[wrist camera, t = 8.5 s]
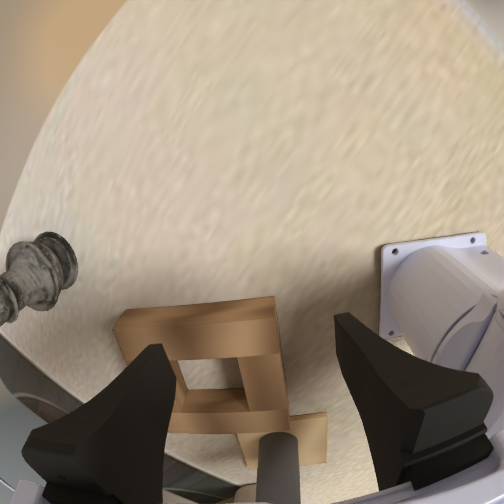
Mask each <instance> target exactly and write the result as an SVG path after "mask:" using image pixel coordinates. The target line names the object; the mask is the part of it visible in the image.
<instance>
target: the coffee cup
mask: <svg viewBox="0 0 504 504" xmlns="http://www.w3.org/2000/svg"><path fill="white" fill-rule="evenodd" d="M255 500H256V484H252V485H247V486H243V487H241V488H240V489H238V490H237V491H236V493H235V498H234V503H245V502H255Z"/></svg>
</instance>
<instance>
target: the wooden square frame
mask: <svg viewBox="0 0 504 504" xmlns="http://www.w3.org/2000/svg"><path fill="white" fill-rule="evenodd" d="M112 330H113V332H114V335H115V337H116V340H117V342H118V345H119V347H120V349H121V352H122V354H123V356H124V359H125V361H126V363H127V365H129V364H130V363H131V362H132V361H133V360H134V359H135V358H136V357H137V356H138V355H139V354H140V353H141V352H142V351H143V350H144V349H145V348H146V347H147V346H148V345H149V344H158V343H162V345H163V347H164V350H165V352H166V354H167V357H168V359H169V362H170V364H171V366H172V369H173V371H174V373H175V375H176V378H177V381H176V394H175V401H174V406H173V410H172V414H171V419H170V423H169V427H168V433H192V434H238V433H261V432H276V431H288V430H290V422H289V403H288V396H287V388H286V380H285V373H284V365H283V357H282V350H281V343H280V335H279V328H278V321H277V313H276V306H275V299H274V296H271V297H262V298H253V299H244V300H234V301H224V302H214V303H204V304H192V305H181V306H169V307H156V308H142V309H128V310H126V311H125V313H124V314H123V315H122V317H121V318H120V319H119V321H118V322H117V323H116V325H115V326H114V327H113V329H112ZM232 357H237V359H238V364H239V368H240V372H241V376H242V381H243V385H244V388H236V389H213V390H188V389H187V386H186V384H185V381H184V378H183V376H182V373H181V370H180V367H179V365H178V362H177V360H196V359H216V358H232Z"/></svg>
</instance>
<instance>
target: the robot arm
mask: <svg viewBox="0 0 504 504" xmlns="http://www.w3.org/2000/svg"><path fill="white" fill-rule="evenodd" d="M471 238H473V240H472V241H471V242H470V240H471ZM395 248H397V251H396V252H395V253H392V250H393V249H395ZM334 321H335V338H336V354H337V358H338V361H339V365H340V368H341V372H342V375H343V377H344V379H345V382H346V384H347V386H348V389H349V391H350V393H351V395H352V398H353V400H354V402H355V405H356V407H357V409H358V412H359V414H360V417H361V420H362V422H363V426H364V429H365V433H366V436H367V440H368V444H369V448H370V452H371V456H372V460H373V464H374V468H375V473H376V477H377V482H378V488H379V492H376V493H372V494H369V495H365V496H361V497H357V498H353V499H349V500H345V501H341V502H336V503H332V504H504V257H503V256H501V255H500V254H498V253H497V252H495V251H493V250H492V249H490V248H489V247H487V246H486V234H485V233H483V232H475V233H468V234H460V235H453V236H446V237H438V238H431V239H424V240H416V241H409V242H401V243H394V244H387V245H384V246H383V247H382V249H381V298H380V323H379V335H377V334H376V333H374V332H373V331H372V330H370V329H369V328H368V327H366V326H365V325H364V324H363V323H361V322H360V321H359V320H358V319H357V318H355V317H354V316H353V315H352V314H350V313H349V312H347V313H343V314H338V315H334ZM390 331H393V332H392V333H389V332H390ZM399 336H404V338H405V340H406V342H407V343H408V345H409V347H410V349H411V350H412V352H413V354H414V356H413V355H411V354H409V353H407V352H405V351H403V350H401V349H399V348H397V347H396V346H394V345H392V344H391V343H389V342H387V341H386V340H384V339H388V338H394V337H399ZM176 381H177V378H176V375H175V373H174V371H173V369H172V366H171V364H170V362H169V359H168V357H167V354H166V352H165V350H164V347H163V345H162V343H158V344H149V345H148V346H147V347H146V348H145V349H144V350H143V351H142V352H141V353H140V354H139V355H138V356H137V357H136V358H135V359H134V360H133V361H132V362H131V363H130V364H129V365H128V366H127V367H126V368H125V369H124V371H123V372H122V373H121V374H120V375H118V376H117V377H116V378H115V379H114V380H113V381H112V382H111V383H110V384H109V385H108V386H107V387H106V388H105V389H103V390H102V391H101V392H100V393H99V394H97V395H96V396H95V397H93V398H92V399H91V400H90V401H88V402H87V403H85V404H84V405H82V406H81V407H79V408H77V409H76V410H74V411H73V412H71V413H69V414H67V415H66V416H64V417H62V418H60V419H58V420H56V421H54V422H51V423H49V424H46V425H44V426H42V427H39V428H36V429H33V430H32V431H31V433H30V435H29V437H28V439H27V441H26V443H25V445H24V447H23V449H22V451H21V452H22V456H23V457H24V459H25V461H26V462H27V463H28V464H29V465H30V466H31V467H32V468H33V469H34V470H35V471H36V472H37V473H38V474H39V475H40V476H41V477H42V478H43V479H44V480H45V481H46V482H47V484H46V486H45V488H44V487H43V486H41V485H39V484H37V483H33V482H30V481H27V480H24V479H20V481H19V483H18V485H17V487H16V490H15V492H14V495H13V497H12V499H11V501H10V504H163V498H162V479H163V460H164V448H165V441H166V436H167V432H168V427H169V423H170V419H171V414H172V410H173V406H174V401H175V394H176ZM170 504H175V503H170ZM227 504H271V503H266V502H245V503H227Z"/></svg>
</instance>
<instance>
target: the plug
mask: <svg viewBox="0 0 504 504" xmlns="http://www.w3.org/2000/svg"><path fill="white" fill-rule="evenodd" d="M255 502H266V503H271V504H301V502H300V475H299V453H298V439H297V438H296V437H295V436H294V435H292V434H290V433H286V432H272V433H268V434H266V435H264V436H263V437H261V439H260V440H259V452H258V468H257V484H256V500H255Z"/></svg>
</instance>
